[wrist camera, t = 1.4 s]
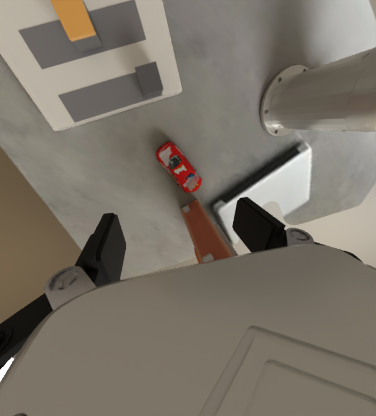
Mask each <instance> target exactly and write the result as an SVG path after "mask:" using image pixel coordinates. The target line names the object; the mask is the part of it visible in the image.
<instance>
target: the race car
mask: <svg viewBox="0 0 376 416" xmlns="http://www.w3.org/2000/svg"><path fill="white" fill-rule="evenodd" d="M156 156H157V159H158V161H159V162H160V164H161V165H162V166H163V167H164V168H165V169H166V170H167V171H168V173H169V174H170V175H171V176H172V177H173V178H174V179H175V181H176V182H177V183H178V184H177V185H180V186H181V187H182V189H183V190H184V191H185V192H187V193H190V192H194V191H196V190H197V189H198V188H199V187H200V185H201V182H202V179H201V178H200V176H199V175H198V174H197V172H196V169H195V170H194V168H193V167H192V166H191V164H190V163H189V162H188V160H187V159H186V158H185V157H184V155H183V154H182V152H181V151H180V149H179V148H178V147H177V146H176V145H175V144H174V143H172V142H170V141H169V142H166V143H165V144H163V145H162V146H161V147H160V148H159V149H158V150H157V152H156Z"/></svg>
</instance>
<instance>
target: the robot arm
mask: <svg viewBox="0 0 376 416" xmlns="http://www.w3.org/2000/svg"><path fill="white" fill-rule="evenodd" d="M260 117H261V123H262V126H263V128H264V130H265V131H266V132H267V133H269V134H270V135H273V136H284V135H287V134H289V133H291V132H292V131H294V130H295V129H301V130H330V131H360V132H372V131H376V48H373V49H370V50H367V51H364V52H361V53H358V54H355V55H352V56H349V57H346V58H343V59H340V60H337V61H334V62H331V63H328V64H325V65H322V66H319V67H317V68H314V69H311V70H309V69H308V68H307V67H305V66H304V65H293V66H290V67H288V68H286V69H284V70H282V71H281V72H280V73H279V74H277V75H276V76H275V78H274V79H273V80H272V81H271V83H270V84H269V86H268V87H267V89H266V92H265V94H264V96H263V100H262V103H261V110H260ZM232 227H233V230H234V231H235V232H236V234H237V235H238V236H239V237H240V239H241V240H242V241H243V243H244V244H245V245H246V246H247V248H248V249H249V250H250V251H251V253H248V254H243V255H238V256H233V257H228V258H223V259H218V260H213V261H208V262H203V263H198V264H193V265H189V266H184V267H179V268H174V269H170V270H165V271H160V272H155V273H150V274H146V275H141V276H137V277H132V278H128V279H124V280H120V276H121V271H122V266H123V261H124V255H125V250H126V242H125V239H124V235H123V232H122V229H121V226H120V223H119V219H118V216H117V215H114V213H107V214H103V216H102V218H101V220H100V222H99V224H98V226H97V228H96V230H95V232H94V234H92V235H91V236H90V237H89V239H88V241H87V243H86V245H85V247H84V249H83V251H82V252H81V254H80V256H79V258H78V260H77V262H76V264H75V266H71V267H67V268H64V269H62V270H60V271H59V272H57V273H56V274H54V275H53V276H52V277H51V278H50V279H49V280H48V281H47V283H46V285H45V287H44V290H45V293H44V294H43V295H41V296H40V297H39V298H37V299H36V300H34V301H33V302H31V303H30V304H28V305H27V306H25V307H24V308H23V309H21V310H20V311H18V312H17V313H15V314H14V315H13V316H11V317H10V318H8V319H7V320H5V321H4V322H2V323H1V324H0V416H376V268H374V267H372V266H370V265H366V264H364V263H363V262H362V261H361V260H360V259H359V258H357V257H356V256H355V255H354V254H352V253H350V252H347V251H343V250H340V249H337V248H333V247H330V246H326V245H323V244H320V243H316V242H314V240H313V238H312V237H311V235H310V234H308V233H307V232H305V231H303V230H301V229H297V228H289V229H287V230H284V228H285V225H284V224H283V223H281V222H280V221H279V220H277V219H276V218H275V217H273V216H272V215H271V214H269V213H268V212H267V211H265V210H264V209H263V208H261V207H260V206H259V205H257V204H256V203H255V202H253V201H252V200H251V199H249V198H248V197H244V198H240V199H239V200H238V201H237V205H236V210H235V215H234V221H233V226H232Z"/></svg>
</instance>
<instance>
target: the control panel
mask: <svg viewBox="0 0 376 416" xmlns="http://www.w3.org/2000/svg"><path fill="white" fill-rule="evenodd" d="M181 212H182V214H183V217H184V220H185V223H186V225H187V228H188V231H189V233H190V236H191V239H192V241H193V244H194V247H195V248H194V250H195V254H196V257H197V260H198V262H199V263H203V262H208V261H213V260H218V259H223V258H228V257H233V256H238V254H237V253H236V251H235V250H234V248H233V247H232V245H231V244H230V242H229V241H228V239H227V238H226V236H225V235H224V233H223V232H222V231H221V229H220V228H219V225H218V224H215V225H213V223H212V222H211V220H210V219H209V217H208V215H207V214H206V212H205V211H204V209H203V208H202V206H201V205H200V203H199V201H198V200H197V199H196V200H194V201H193V202H191V203H189V204H188V205H186V206H185V207H183V208H181Z"/></svg>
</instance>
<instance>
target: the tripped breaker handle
mask: <svg viewBox="0 0 376 416" xmlns="http://www.w3.org/2000/svg"><path fill="white" fill-rule="evenodd" d="M50 1H51V3H52V5H53V7H54V9H55V11H56V13H57V15H58V17H59V19H60V21H61V23H62V25H63V27H64V29H65V31H66V33H67V36H68V38H69V39H70V40H71V41H72V43H73V44H74V45H75V46H76V47H77V48H78V49H79V50H80V51H81V52H82V53H85V52H88V51H92V50H95V49H99V48H102V47H104V46H103V44H102V42H101V39H100V37H99V34H98V32H97V29H96V27H95V24H94V22H93V20H92V17H91V15H90V13H89V11H88V9H87V7H86V5H85V3H84V1H83V0H50Z"/></svg>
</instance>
